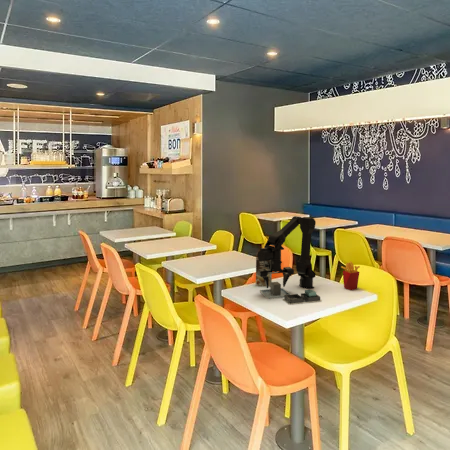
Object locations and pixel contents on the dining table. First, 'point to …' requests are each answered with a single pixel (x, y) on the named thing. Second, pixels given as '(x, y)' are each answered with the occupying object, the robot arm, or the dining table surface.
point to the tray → (270, 296)
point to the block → (275, 288)
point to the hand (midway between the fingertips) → (275, 287)
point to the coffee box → (259, 279)
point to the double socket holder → (302, 298)
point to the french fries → (350, 276)
